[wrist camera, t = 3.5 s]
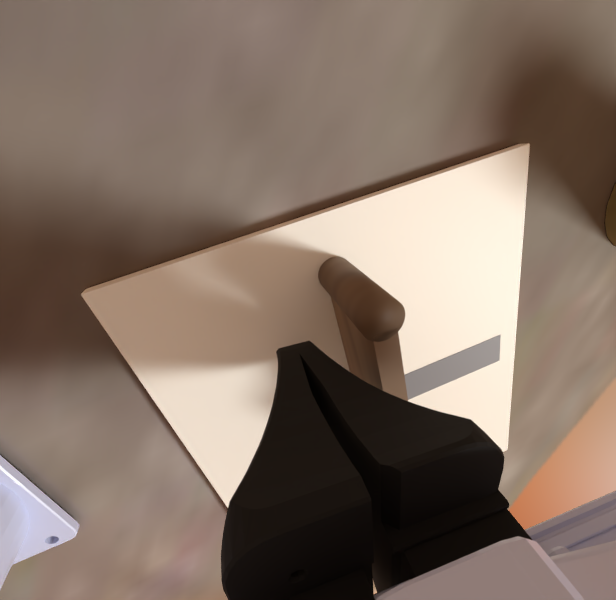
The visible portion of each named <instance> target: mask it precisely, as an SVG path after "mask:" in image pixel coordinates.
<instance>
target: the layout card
mask: <svg viewBox="0 0 616 600" xmlns="http://www.w3.org/2000/svg"><path fill="white" fill-rule="evenodd" d="M529 150H530V144H517V145H514V146H511V147H508V148H505V149H502V150H499V151H496V152H493V153H490V154H487V155H484V156H481V157H478V158H475V159H472V160H469V161H466V162H464V163H461V164H458V165H455V166H452V167H449V168H446V169H443V170H440V171H437V172H434V173H431V174H428V175H425V176H422V177H419V178H416V179H413V180H410V181H407V182H404V183H401V184H398V185H395V186H392V187H389V188H386V189H383V190H380V191H377V192H374V193H371V194H368V195H365V196H362V197H359V198H356V199H353V200H350V201H347V202H344V203H341V204H338V205H335V206H332V207H329V208H326V209H323V210H320V211H317V212H314V213H311V214H308V215H305V216H302V217H299V218H296V219H293V220H290V221H287V222H284V223H281V224H278V225H275V226H272V227H269V228H266V229H263V230H260V231H257V232H254V233H251V234H248V235H245V236H242V237H239V238H236V239H233V240H230V241H227V242H224V243H221V244H218V245H215V246H212V247H209V248H206V249H204V250H201V251H198V252H195V253H192V254H189V255H186V256H183V257H180V258H177V259H174V260H171V261H168V262H165V263H162V264H159V265H156V266H153V267H150V268H147V269H144V270H141V271H138V272H135V273H132V274H129V275H126V276H123V277H120V278H117V279H114V280H111V281H108V282H105V283H102V284H99V285H96V286H93V287H90V288H87V289H85V290H84V291H83V293H82V294H81V296H82V297H83V299H84V300H85V302H86V303H87V304H88V306H89V307H90V309H91V310H92V312H93V313H94V315H95V316H96V318H97V319H98V320H99V322H100V323H101V325H102V326H103V328H104V329H105V331H106V332H107V333H108V335H109V336H110V338H111V339H112V341H113V342H114V344H115V345H116V347H117V348H118V349H119V351H120V352H121V354H122V355H123V357H124V358H125V360H126V361H127V362H128V364H129V365H130V367H131V368H132V370H133V371H134V373H135V374H136V376H137V377H138V378H139V380H140V381H141V383H142V384H143V386H144V387H145V389H146V390H147V391H148V393H149V394H150V396H151V397H152V399H153V400H154V402H155V403H156V405H157V406H158V407H159V409H160V410H161V412H162V413H163V415H164V416H165V418H166V419H167V420H168V422H169V423H170V425H171V426H172V428H173V429H174V431H175V432H176V434H177V435H178V436H179V438H180V439H181V441H182V442H183V444H184V445H185V447H186V448H187V449H188V451H189V452H190V454H191V455H192V457H193V458H194V460H195V461H196V463H197V464H198V465H199V467H200V468H201V470H202V471H203V473H204V474H205V476H206V477H207V478H208V480H209V481H210V483H211V484H212V486H213V487H214V489H215V490H216V492H217V493H218V494H219V496H220V497H221V499H222V500H223V502H224V503H225V505H226V506H227V508H228V506H229V502H230V500H231V498H232V496H233V495H234V493H235V491H236V489H237V488H238V486H239V484H240V482H241V481H242V479H243V477H244V475H245V473H246V472H247V470H248V468H249V465H250V463H251V461H252V459H253V457H254V455H255V453H256V450H257V448H258V446H259V444H260V441H261V439H262V436H263V433H264V430H265V428H266V425H267V422H268V418H269V415H270V412H271V408H272V404H273V399H274V394H275V389H276V383H277V373H278V359H277V354H276V351H277V350H278V348H282V347H286V346H290V345H294V344H297V343H301V342H305V341H311V342H312V343H313V344H314V345H316V346H317V347H318V348H319V349H320V350H321V351H323V352H324V353H325V354H326V355H327V356H329V357H330V358H331V359H333V360H334V361H335V362H337V363H338V364H339V365H341V366H342V367H343V368H345V369H346V370H348V371H349V372H350V370H349V366H348V363H347V359H346V355H345V351H344V347H343V343H342V339H341V335H340V331H339V327H338V323H337V319H336V315H335V312H334V308H333V304H332V300H331V296H330V295H329V294H328V292H327V291H326V290H325V289H324V288H323V286H322V285H321V284H320V282H319V279H318V272H319V269H320V267H321V265H322V264H323V263H324V262H325V261H326V260H327V259H329V258H331V257H342V258H345V259H346V260H347V261H349V262H350V263H351V264H352V265H354V266H355V267H356V268H357V269H359V270H360V271H361V272H363V273H364V274H365V275H366V276H368V277H369V278H370V279H371V280H373V281H374V282H375V283H376V284H378V285H379V286H380V287H381V288H383V289H384V290H385V291H386V292H388V293H389V294H390V295H392V296H393V297H394V298H395V299H397V300H398V301H399V302H400V303H401V304H402V305H403V307H404V309H405V320H404V323H403V325H402V327H401V329H400V330H399V331H398V335H399V341H400V348H401V355H402V362H403V369H404V376H405V382H406V389H407V396H408V402H411V403H414V404H417V405H420V406H423V407H426V408H429V409H432V410H436V411H439V412H443V413H447V414H451V415H455V416H459V417H463V418H467V419H471V420H472V421H473V422H474V423H475V424H477V425H478V426H479V427H480V428H481V429H482V430H483V431H484V432H485V433H486V434H487V435H488V436H489V437H490V438H491V439H492V440H493V441H494V442H495V443H496V444H497V445H498V446H499V447H500V448H501V449H502V452H503V451H506V450H507V449H508V435H509V422H510V408H511V394H512V381H513V367H514V354H515V340H516V327H517V313H518V299H519V286H520V272H521V259H522V245H523V232H524V218H525V204H526V191H527V177H528V164H529Z"/></svg>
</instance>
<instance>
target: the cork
mask: <svg viewBox="0 0 616 600" xmlns="http://www.w3.org/2000/svg"><path fill="white" fill-rule="evenodd" d="M605 227H606V233H607V237H608V238H609V240H610V241H611V242H612V244H613V245H614V246H616V183H615V185H614V188H613V191H612V193H611V196H610V199H609V201H608V204H607V210H606V217H605Z"/></svg>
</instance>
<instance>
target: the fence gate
mask: <svg viewBox="0 0 616 600" xmlns="http://www.w3.org/2000/svg"><path fill="white" fill-rule="evenodd" d="M318 279H319V282H320V284H321V285H322V286H323V288H324V289H325V290H326V291H327V292H328V294H329V295H330V296H331V300H332V304H333V308H334V312H335V315H336V319H337V323H338V327H339V331H340V335H341V339H342V343H343V347H344V351H345V355H346V359H347V363H348V366H349V370H350V372H351V373H352V374H354V375H355V376H357V377H359V378H360V379H362V380H363V381H365V382H367V383H369V384H371V385H373V386H375V387H376V388H378V389H380V390H382V391H385V392H387V393H389V394H391V395H394V396H396V397H399V398H401V399H403V400H406V401H408V396H407V389H406V382H405V376H404V369H403V362H402V355H401V348H400V341H399V335H398V331H399V330H400V329H401V327H402V325H403V323H404V320H405V309H404V307H403V305H402V304H401V303H400V302H399V301H398V300H397V299H395V298H394V297H393V296H392V295H390V294H389V293H388V292H386V291H385V290H384V289H383V288H381V287H380V286H379V285H378V284H376V283H375V282H374V281H373V280H371V279H370V278H369V277H368V276H366V275H365V274H364V273H363V272H361V271H360V270H359V269H357V268H356V267H355V266H354V265H352V264H351V263H350V262H349V261H347V260H346V259H345V258H342V257H331V258H329V259H327V260H326V261H325V262H324V263H323V264H322V265H321V267H320V269H319V272H318Z"/></svg>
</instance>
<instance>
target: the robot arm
mask: <svg viewBox="0 0 616 600" xmlns="http://www.w3.org/2000/svg"><path fill="white" fill-rule="evenodd" d="M276 354H277V359H278V373H277V383H276V389H275V394H274V399H273V404H272V408H271V412H270V415H269V418H268V422H267V425H266V428H265V430H264V433H263V436H262V439H261V441H260V444H259V446H258V448H257V450H256V453H255V455H254V457H253V459H252V461H251V463H250V465H249V468H248V470H247V472H246V473H245V475H244V477H243V479H242V481H241V482H240V484H239V486H238V488H237V489H236V491H235V493H234V495H233V496H232V498H231V500H230V502H229V506H228V511H227V515H226V520H225V526H224V532H223V539H222V550H221V572H222V585H223V590H224V592H225V594H226V596H227V598H228V600H616V491H614V492H612V493H609V494H607V495H605V496H603V497H600V498H598V499H595V500H593V501H591V502H588V503H586V504H584V505H581V506H579V507H577V508H574V509H572V510H570V511H567V512H565V513H563V514H561V515H558V516H556V517H553V518H551V519H549V520H546V521H544V522H542V523H539V524H537V525H535V526H532V527H530V528H528V529H525V530H524V529H523V528H522V526H521V525H520V524H519V523H518V522H517V520H516V519H515V518H514V517H513V516H512V514H511V513H510V512H509V511H508V510H507V508H508V507H509V503H508V501H507V500H506V498H505V497H504V496H503V495H502V494H501V493H500V491H499V490H498V487H499V483H500V479H501V475H502V471H503V465H504V455H503V452H502V449H501V448H500V447H499V446H498V445H497V444H496V443H495V442H494V441H493V440H492V439H491V438H490V437H489V436H488V435H487V434H486V433H485V432H484V431H483V430H482V429H481V428H480V427H479V426H478V425H477V424H475V423H474V422H473V421H472V420H471V419H467V418H463V417H459V416H455V415H451V414H447V413H443V412H439V411H436V410H432V409H429V408H426V407H423V406H420V405H417V404H414V403H411V402H408V401H406V400H403V399H401V398H399V397H396V396H394V395H391V394H389V393H387V392H385V391H382V390H380V389H378V388H376V387H375V386H373V385H371V384H369V383H367V382H365V381H363V380H362V379H360V378H359V377H357V376H355V375H354V374H352V373H351V372H349V371H348V370H346V369H345V368H343V367H342V366H341V365H339V364H338V363H337V362H335V361H334V360H333V359H331V358H330V357H329V356H327V355H326V354H325V353H324V352H323V351H321V350H320V349H319V348H318V347H317V346H316V345H314V344H313V343H312V342H311V341H305V342H301V343H297V344H294V345H290V346H286V347H282V348H278V350H277V351H276ZM78 529H79V524H78V522H77V521H75V520H74V519H73V518H72V517H71V516H70V515H69V514H67V513H66V512H65V511H64V510H63V509H62V508H60V507H59V506H58V505H57V504H56V503H55V502H54V501H52V500H51V499H50V498H49V497H48V496H47V495H46V494H44V493H43V492H42V491H41V490H40V489H39V488H37V487H36V486H35V485H34V484H33V483H32V482H31V481H29V480H28V479H27V478H26V477H25V476H24V475H22V474H21V473H20V472H19V471H18V470H17V469H16V468H14V467H13V466H12V465H11V464H10V463H9V462H7V461H6V460H5V459H4V458H3V457H2V456H1V455H0V589H1V587H2V585H3V583H4V581H5V579H6V576H7V574H8V572H9V570H10V568H11V566H12V565H13V564H15V563H17V562H20V561H22V560H24V559H27V558H29V557H31V556H34V555H36V554H38V553H41V552H43V551H45V550H48V549H50V548H52V547H55V546H57V545H59V544H62V543H64V542H66V541H69V540H71V539H72V538H74V537H75V536H76V535H77V532H78ZM373 580H374V584H375V587H376V590H377V593H376V594H374V595H373Z"/></svg>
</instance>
